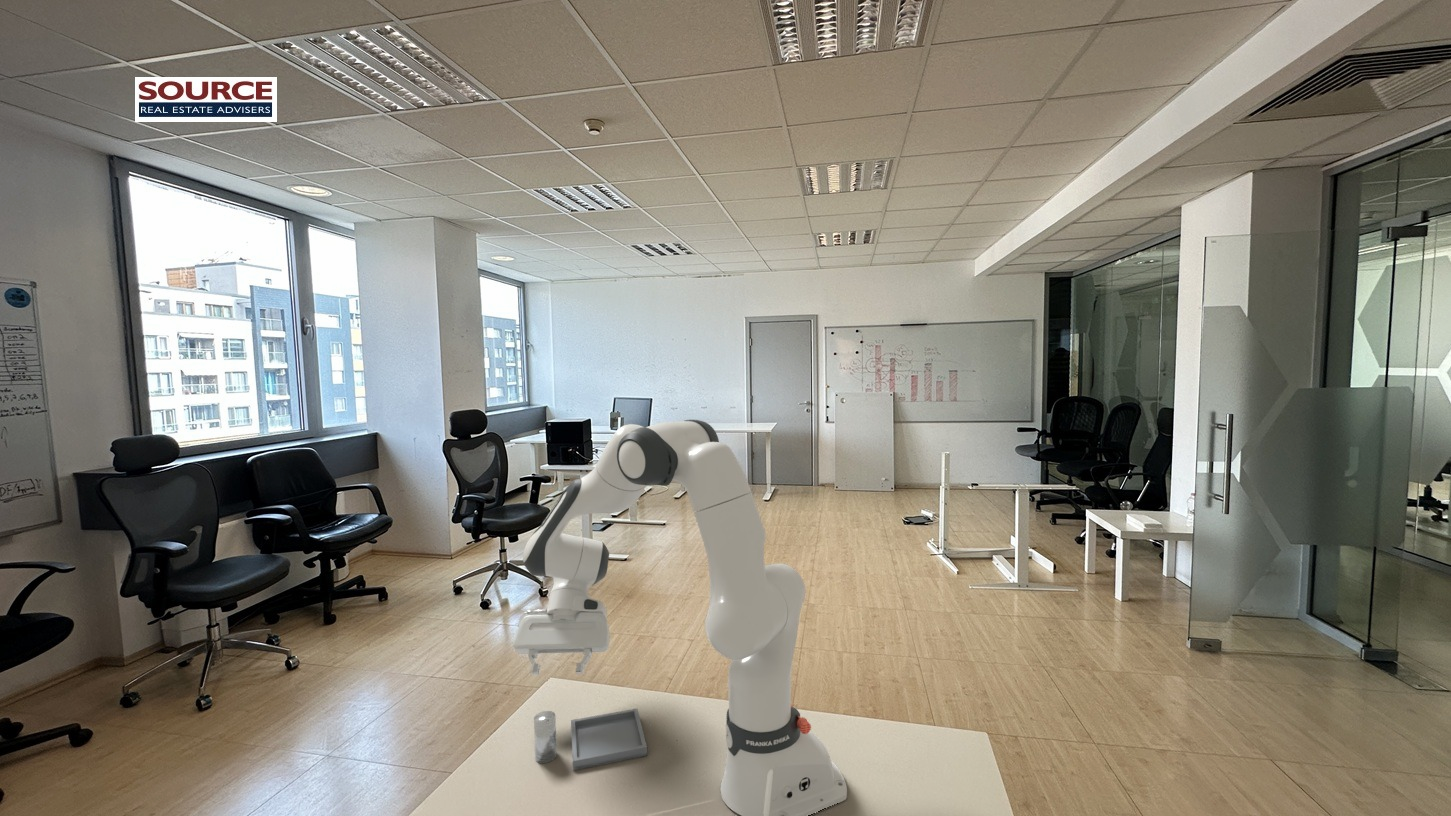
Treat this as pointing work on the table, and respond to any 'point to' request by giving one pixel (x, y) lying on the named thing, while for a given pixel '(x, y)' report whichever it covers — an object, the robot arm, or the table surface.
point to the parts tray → (607, 739)
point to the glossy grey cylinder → (545, 736)
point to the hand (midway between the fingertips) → (557, 673)
